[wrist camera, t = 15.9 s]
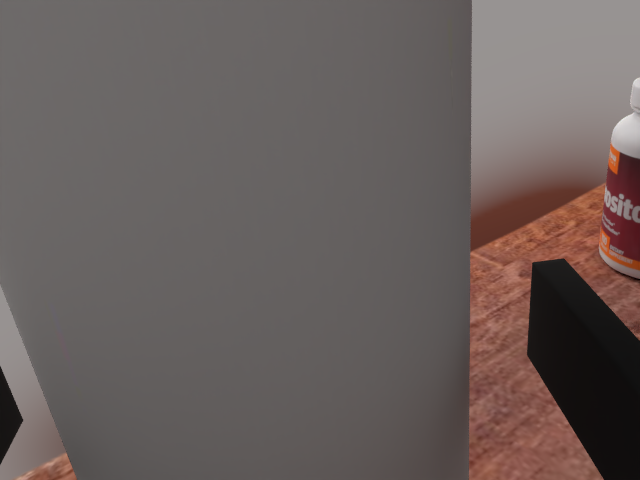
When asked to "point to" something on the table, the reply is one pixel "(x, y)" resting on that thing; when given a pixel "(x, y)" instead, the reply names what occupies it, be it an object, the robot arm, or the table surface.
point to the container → (242, 233)
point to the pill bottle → (623, 195)
